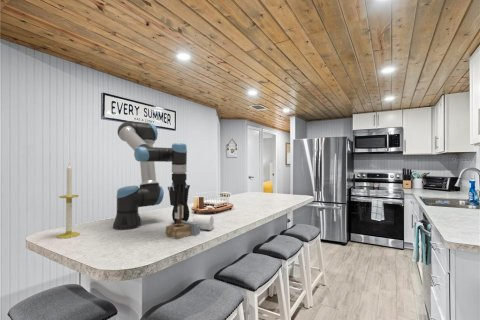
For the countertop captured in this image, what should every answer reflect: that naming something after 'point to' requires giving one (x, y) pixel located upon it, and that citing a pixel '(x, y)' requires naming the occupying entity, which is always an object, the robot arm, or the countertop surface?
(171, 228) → the block
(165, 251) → the countertop surface
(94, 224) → the countertop surface
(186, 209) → the bottle
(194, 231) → the backstop wall
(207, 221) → the mug
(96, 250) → the countertop surface
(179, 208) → the dowel
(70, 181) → the candle
